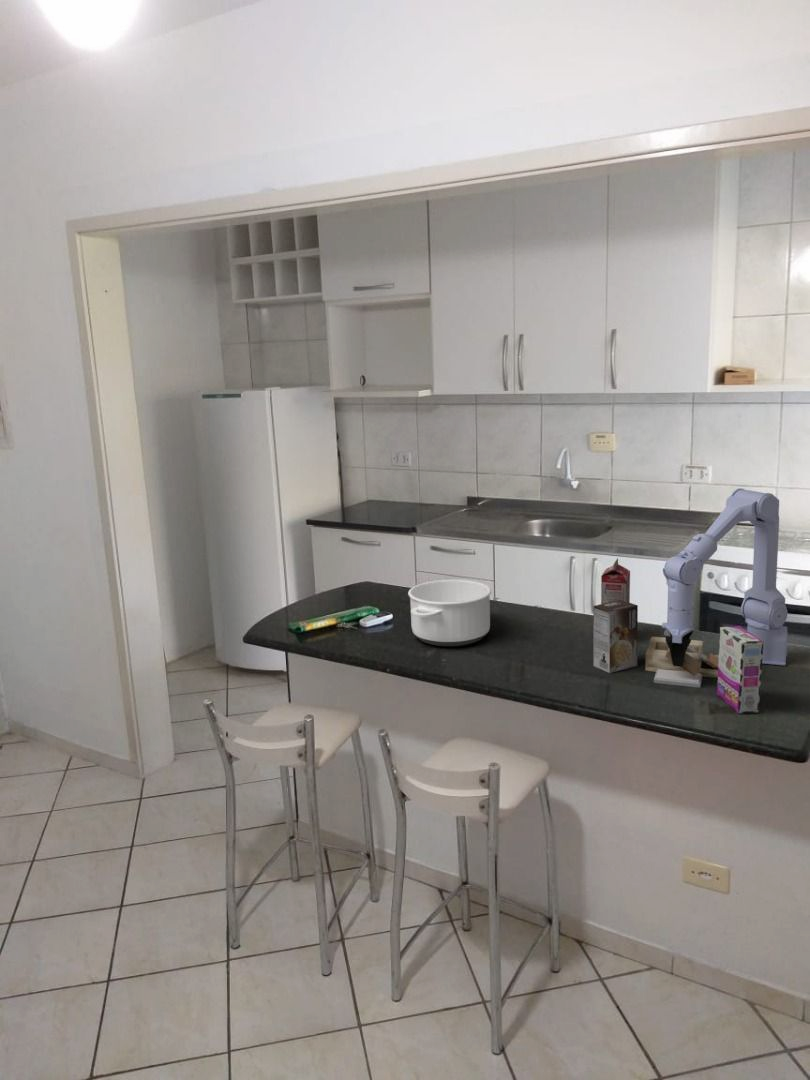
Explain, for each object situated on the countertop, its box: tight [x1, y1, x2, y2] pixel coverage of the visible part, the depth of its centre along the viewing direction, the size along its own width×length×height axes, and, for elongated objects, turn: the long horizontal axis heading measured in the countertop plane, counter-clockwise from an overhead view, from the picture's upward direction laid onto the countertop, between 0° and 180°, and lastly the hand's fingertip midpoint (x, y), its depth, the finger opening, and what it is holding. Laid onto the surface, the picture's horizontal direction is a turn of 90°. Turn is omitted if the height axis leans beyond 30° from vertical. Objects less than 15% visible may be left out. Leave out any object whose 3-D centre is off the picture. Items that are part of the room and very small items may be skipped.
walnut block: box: [665, 648, 702, 676], centre depth 201 cm, size 8×4×2 cm
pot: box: [407, 579, 492, 647], centre depth 238 cm, size 33×23×14 cm
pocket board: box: [644, 636, 719, 679], centre depth 211 cm, size 17×13×4 cm
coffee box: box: [592, 600, 639, 674], centre depth 211 cm, size 9×6×16 cm
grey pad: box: [653, 669, 703, 689], centre depth 202 cm, size 10×6×1 cm, turn 68°
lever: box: [663, 629, 719, 670], centre depth 210 cm, size 15×6×2 cm
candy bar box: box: [716, 625, 764, 715], centre depth 186 cm, size 11×5×16 cm, turn 5°
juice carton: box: [600, 557, 631, 604], centre depth 229 cm, size 7×7×22 cm
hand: (678, 661), depth 201 cm, fingers open, 4 cm apart
